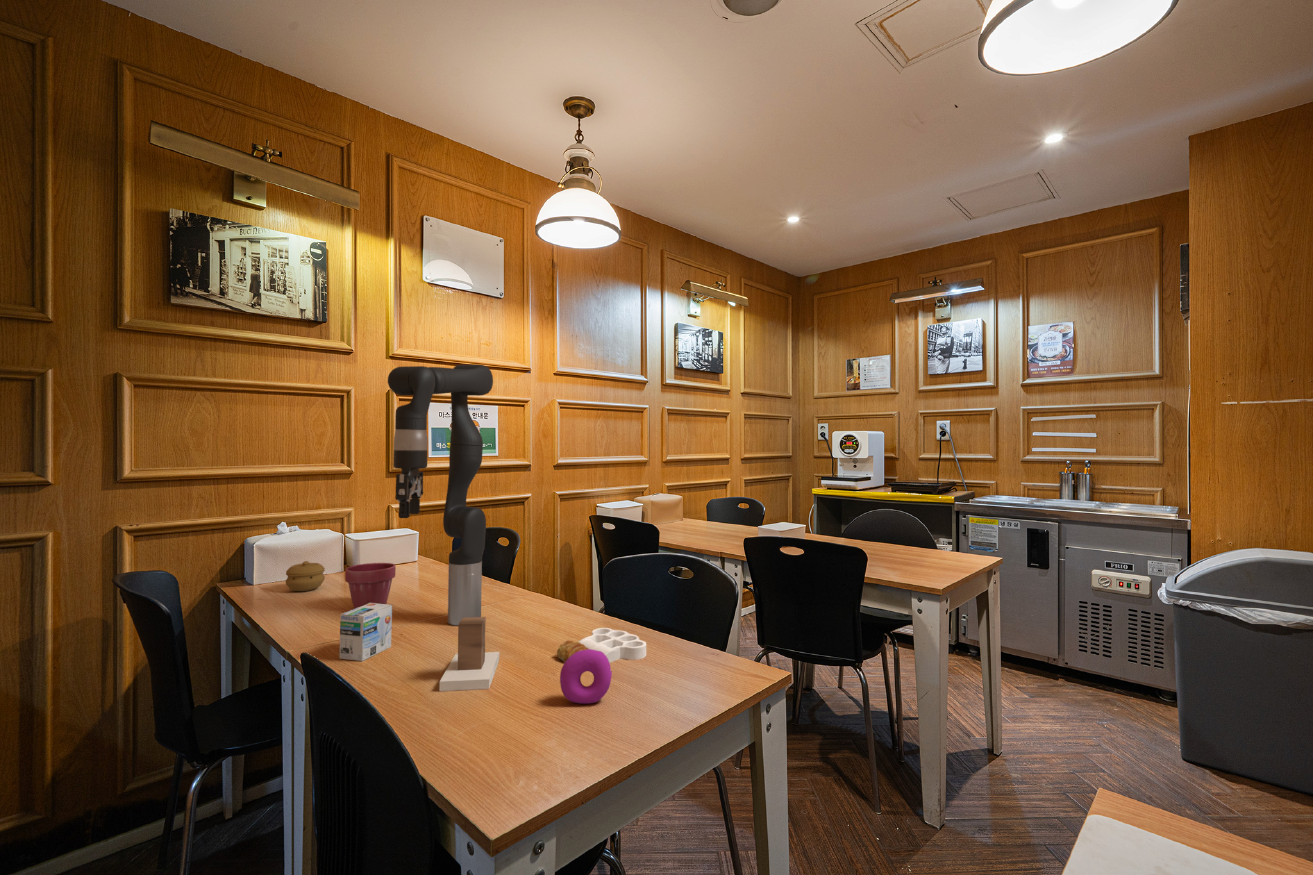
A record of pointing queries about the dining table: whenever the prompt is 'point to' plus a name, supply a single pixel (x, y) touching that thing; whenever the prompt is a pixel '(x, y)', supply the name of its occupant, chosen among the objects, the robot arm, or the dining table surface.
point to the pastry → (569, 649)
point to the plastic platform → (469, 675)
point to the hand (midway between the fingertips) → (409, 515)
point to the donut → (576, 667)
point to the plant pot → (370, 582)
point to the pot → (305, 576)
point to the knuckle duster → (615, 644)
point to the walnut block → (471, 643)
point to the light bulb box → (365, 631)
